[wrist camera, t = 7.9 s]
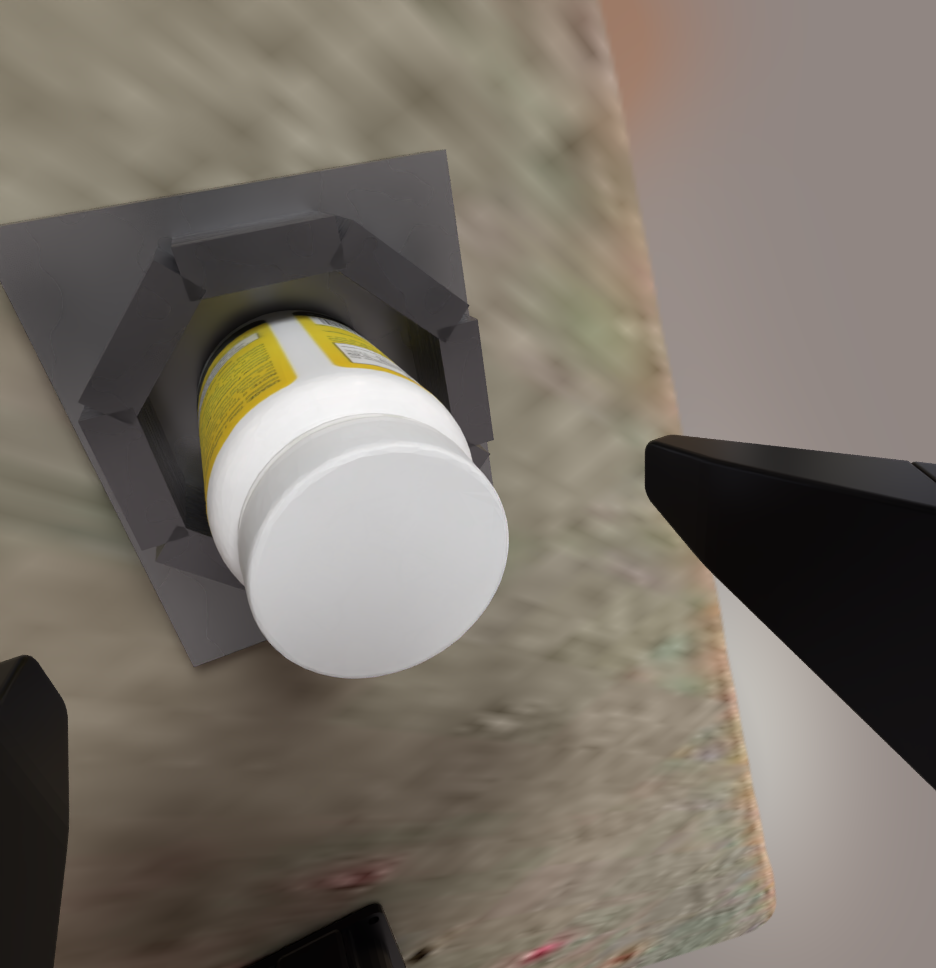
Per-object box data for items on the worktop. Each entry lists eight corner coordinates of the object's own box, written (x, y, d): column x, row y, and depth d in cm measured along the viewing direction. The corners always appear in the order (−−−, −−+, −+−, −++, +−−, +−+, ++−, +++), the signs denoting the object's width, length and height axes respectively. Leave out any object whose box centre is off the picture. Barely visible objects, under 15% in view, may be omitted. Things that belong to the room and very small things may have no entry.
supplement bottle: (225, 504, 16) (256, 744, 9) (170, 324, 14) (160, 466, 7) (398, 461, 18) (537, 642, 11) (373, 292, 16) (528, 385, 9)
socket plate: (487, 535, 22) (538, 594, 19) (193, 641, 19) (195, 730, 16) (428, 150, 16) (487, 145, 13) (-10, 226, 13) (-68, 242, 10)
